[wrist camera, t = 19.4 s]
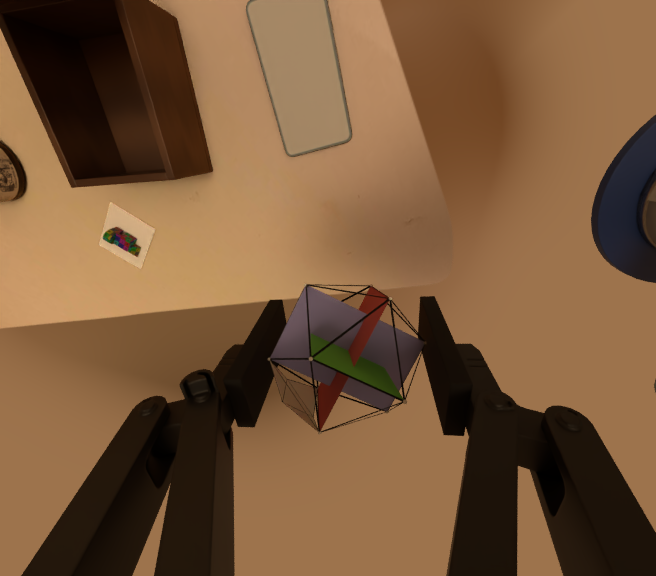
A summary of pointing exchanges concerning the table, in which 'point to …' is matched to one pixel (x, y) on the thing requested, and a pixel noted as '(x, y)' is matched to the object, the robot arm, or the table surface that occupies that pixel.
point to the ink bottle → (10, 176)
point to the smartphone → (301, 72)
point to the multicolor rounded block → (126, 236)
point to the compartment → (109, 88)
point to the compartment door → (8, 1)
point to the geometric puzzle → (342, 354)
